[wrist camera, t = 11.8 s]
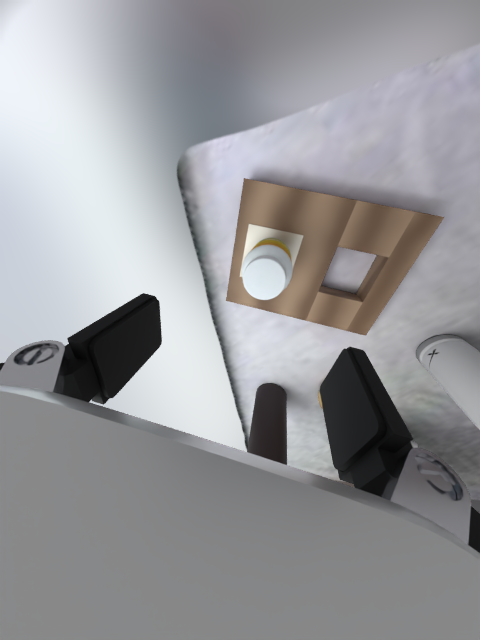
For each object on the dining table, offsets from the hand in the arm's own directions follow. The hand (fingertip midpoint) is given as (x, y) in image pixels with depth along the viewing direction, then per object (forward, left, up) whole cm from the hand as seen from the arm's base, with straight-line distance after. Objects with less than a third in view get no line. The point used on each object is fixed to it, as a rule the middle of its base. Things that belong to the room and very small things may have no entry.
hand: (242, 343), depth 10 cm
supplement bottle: (0, 0, -19) cm, 19 cm away
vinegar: (-8, +30, -22) cm, 38 cm away
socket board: (-6, 0, -22) cm, 23 cm away
